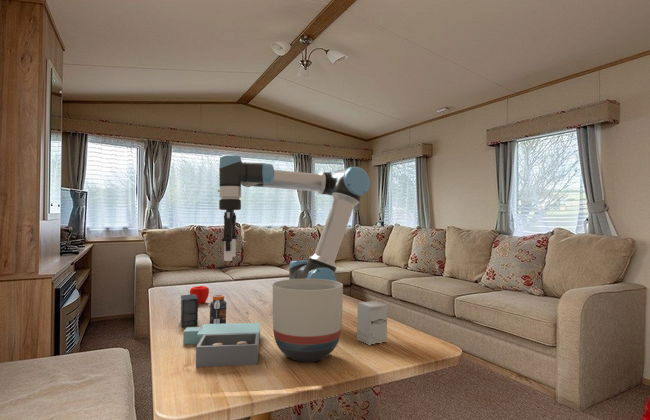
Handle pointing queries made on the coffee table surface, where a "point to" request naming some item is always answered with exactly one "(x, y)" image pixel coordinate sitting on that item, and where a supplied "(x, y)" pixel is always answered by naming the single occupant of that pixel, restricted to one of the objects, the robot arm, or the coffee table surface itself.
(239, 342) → the dowel
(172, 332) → the coffee table surface
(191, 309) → the box
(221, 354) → the tub
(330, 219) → the robot arm
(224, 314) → the pill bottle
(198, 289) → the apple
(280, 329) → the planter
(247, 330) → the lid
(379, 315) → the supplement box
